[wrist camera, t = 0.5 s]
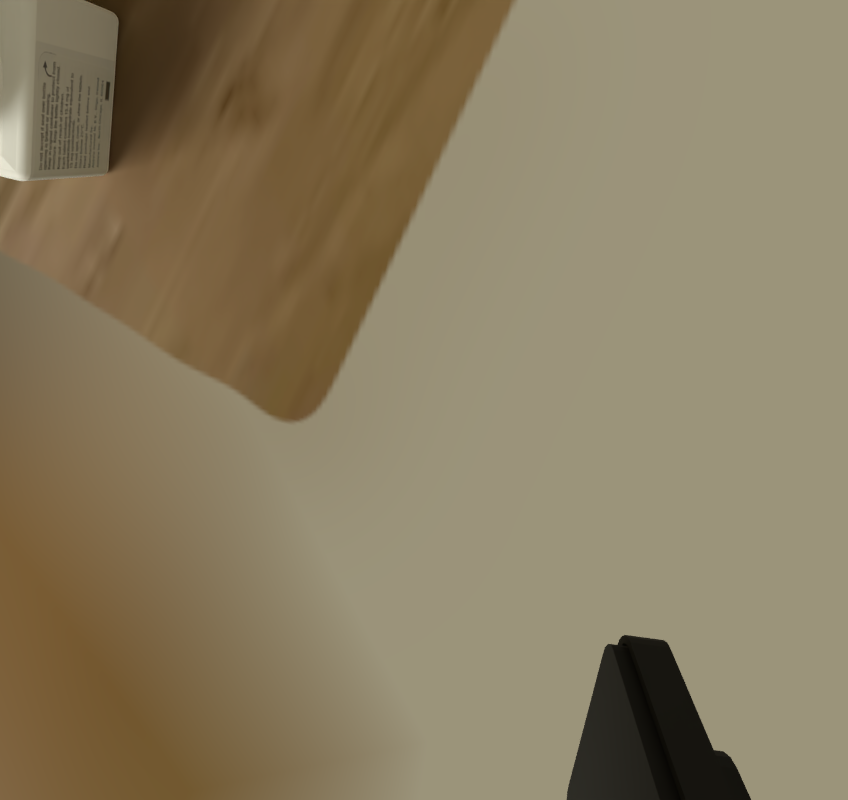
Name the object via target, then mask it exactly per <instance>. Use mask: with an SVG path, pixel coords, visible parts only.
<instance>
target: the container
mask: <svg viewBox="0 0 848 800" xmlns="http://www.w3.org/2000/svg"><path fill="white" fill-rule="evenodd" d="M118 25H119V21H118V18H117V16H116V15H115V13H113V12H112V11H110V10H107V9H105V8H102V7H100V6H97V5H95V4H92V3H90V2H87V1H85V0H0V176H2V177H6V178H10V179H14V180H19V181H31V180H46V179H61V178H76V177H91V176H103V175H105V174H106V173H107V172H108V167H109V153H110V139H111V124H112V110H113V96H114V82H115V68H116V54H117V39H118Z"/></svg>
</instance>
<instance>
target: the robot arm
mask: <svg viewBox="0 0 848 800" xmlns="http://www.w3.org/2000/svg"><path fill="white" fill-rule="evenodd" d="M567 800H751V798H750V796H749V794H748V792H747V790H746V787H745V785H744V783H743V781H742V778H741V776H740V774H739V772H738V770H737V768H736V766H735V764H734V763H733V761H732V759H731V757H729V756H728V755H727V754H726V753H725V752H723V751H715V750H713V748H712V745H711V743H710V741H709V738H708V736H707V734H706V731H705V729H704V727H703V724H702V722H701V720H700V718H699V715H698V712H697V710H696V708H695V706H694V704H693V701H692V698H691V696H690V694H689V691H688V689H687V687H686V684H685V682H684V680H683V677H682V675H681V673H680V670H679V668H678V665H677V663H676V661H675V658H674V656H673V654H672V652H671V649H670V647H669V645H668V644H667V642H665V641H664V640H658V639H650V638H642V637H635V636H628V635H624V636H622V637H621V639H620V640H619V643H618V645H612V644H608V645H607V646H606V647H605V650H604V653H603V657H602V660H601V664H600V668H599V672H598V675H597V679H596V683H595V687H594V691H593V696H592V698H591V702H590V706H589V710H588V714H587V718H586V721H585V725H584V729H583V733H582V737H581V741H580V744H579V748H578V752H577V756H576V760H575V764H574V767H573V771H572V775H571V779H570V783H569V787H568V792H567Z"/></svg>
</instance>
